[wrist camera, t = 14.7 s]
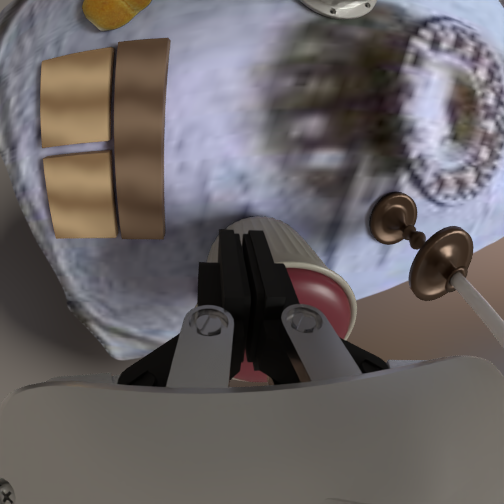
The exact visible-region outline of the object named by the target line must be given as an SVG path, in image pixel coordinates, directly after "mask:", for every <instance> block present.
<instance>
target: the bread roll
mask: <svg viewBox="0 0 504 504" xmlns="http://www.w3.org/2000/svg"><path fill="white" fill-rule="evenodd" d="M151 1H152V0H84V2H83V6H82V9H83V12H84V14H85V17H86V18H87V19H88V20H89V21H90V22H91V23H93V24H94V25H95V26H96V27H97V28H98V29H99V30H101V31H106V30H113V29H117V28H119V27H121V26H123V25H125V24H126V23H128V22H129V21H130V20H131V19H132V18H133V17H134V16H135V15H136V14H138V13H139V12H140V11H141V10H143V9H144V8H146V7H147V6H148V5H149V4H150V2H151Z"/></svg>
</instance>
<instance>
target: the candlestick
mask: <svg viewBox="0 0 504 504" xmlns="http://www.w3.org/2000/svg"><path fill="white" fill-rule="evenodd" d="M416 219H417V207H416V204H415V202H414V201H413V199H412V198H411V197H409V196H408V195H406V194H404V193H401V192H393V193H390V194H388V195H386V196H384V197H383V198H381V199H380V200H379V201H378V203H377V204H376V205H375V207H374V208H373V210H372V213H371V216H370V221H369V226H370V231H371V233H372V235H373V236H374V237H375V238H376V240H377V241H379V242H380V243H382V244H387V245H390V244H395V243H398V242H400V241H401V240H403V239H405V240H409V242H410V246H411V247H412V248H413V249H420V250H419V251H418V253H417V255H416V256H415V258H414V260H413V263H412V265H411V268H410V272H409V285H410V288H411V290H412V291H413V293H414V294H415V295H416V297H418V298H419V299H421V300H424V301H430V300H435V299H437V298H440V297H442V296H443V295H445V294H446V293H448V292H453V291H455V290H457V291H458V292H459V294H460V295H461V296H462V297H463V298H464V299H465V301H466V302H467V303H468V304H469V305H470V306H471V308H472V309H473V310H474V311H475V312H476V314H477V315H478V316H479V317H480V318H481V320H482V321H483V322H484V323H485V325H486V326H487V327H488V329H489V330H490V331H491V332H492V334H493V335H494V336H495V338H497V340H498V342H499V343H500V344H501V346H502V347H503V348H504V321H503V320H502V319H501V317H500V316H499V315H498V314H497V313H496V311H495V310H494V309H493V308H492V307H491V306H490V304H489V303H488V302H487V301H486V300H485V299H484V298H483V297H482V295H481V294H480V293H479V292H478V291H477V290H476V289H475V288H474V287H473V286H472V285H471V283H470V282H469V281H468V280H467V279H466V276H467V269H468V267H469V264H470V262H471V259H472V255H473V241H472V238H471V237H470V235H469V234H468V233H467V232H466V231H465V230H463V229H462V228H460V227H457V226H449V227H446V228H443V229H442V230H440V231H438V232H436V233H435V234H434V235H432V236H431V237H430V238H429V239H428V240H427V241H426V237H425V234H424V233H423V232H419V231H416V228H415V227H414V225H415V222H416ZM425 241H426V242H425Z"/></svg>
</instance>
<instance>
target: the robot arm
mask: <svg viewBox="0 0 504 504" xmlns="http://www.w3.org/2000/svg"><path fill="white" fill-rule="evenodd" d="M299 1H301V2H302V3H303V4H304V5H305V6H307V7H308V8H310V9H311V10H313V11H315V12H317V13H319V14H321V15H323V16H327V17H330V18H334V19H354V18H358V17H360V16H363V15H365V14H366V13H368V12H369V11H371V10H372V9H373V7H374V5H375V4H376V1H377V0H299ZM499 2H500V3H501V4H502V6H503V7H504V0H499ZM330 11H331V12H332V13H331V12H330ZM245 350H246V357H247V362H253V368H254V371H261V372H263V373H264V374H266V375H267V382H268V385H269V386H253V387H232V388H230V387H229V382H230V380H231V379H232V378H233V377H234V376H235V375H236V374H238V373H239V372H240V369H241V363H243V361H244V354H245ZM0 504H504V376H503V375H502V374H501V372H500V371H499V370H498V369H497V368H496V366H495V365H494V364H492V363H491V362H490V361H488V360H485V359H483V358H479V357H472V356H450V357H443V358H438V359H433V360H424V361H423V360H421V361H420V360H416V361H415V360H414V361H413V360H388V361H387V363H385V362H384V361H383V360H382V359H380V358H379V357H377V356H375V355H373V354H371V353H369V352H367V351H365V350H363V349H361V348H359V347H357V346H355V345H353V344H351V343H350V342H348V341H346V340H344V339H342V338H340V337H339V336H338V335H337V333H336V332H335V330H334V328H333V327H332V325H331V324H330V322H329V321H328V319H327V318H326V316H325V315H324V314H323V313H322V312H321V311H320V310H318V309H317V308H315V307H313V306H310V305H306V304H300V303H299V300H298V298H297V295H296V292H295V290H294V287H293V285H292V282H291V279H290V277H289V274H288V272H287V269H286V266H285V265H284V264H283V263H274V260H273V257H272V254H271V251H270V248H269V245H268V242H267V240H266V237H265V234H264V231H263V230H249V231H248V234H243V238H242V245H241V240H240V235H239V233H234V230H227V229H219V245H218V263H216V262H199V274H198V305H197V307H196V308H194V309H191V310H190V311H189V312H188V313H187V314H186V316H185V318H184V321H183V324H182V328H181V332H180V334H178V335H177V336H175V337H174V338H172V339H171V340H169V341H168V342H166V343H165V344H163V345H162V346H160V347H159V348H157V349H156V350H154V351H153V352H151V353H150V354H148V355H147V356H145V357H144V358H142V359H141V360H139V361H138V362H136V363H134V364H133V365H131V366H130V367H128V368H127V369H126V370H125V371H124V372H122V373H121V375H116V376H113V375H112V373H101V374H90V375H77V376H61V377H54V378H51V379H49V380H48V381H46V382H42V383H36V384H31V385H27V386H24V387H21V388H19V389H16V390H14V391H13V392H11V393H10V394H9V395H8V396H7V397H6V398H5V399H4V400H3V402H2V403H1V404H0Z"/></svg>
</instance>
